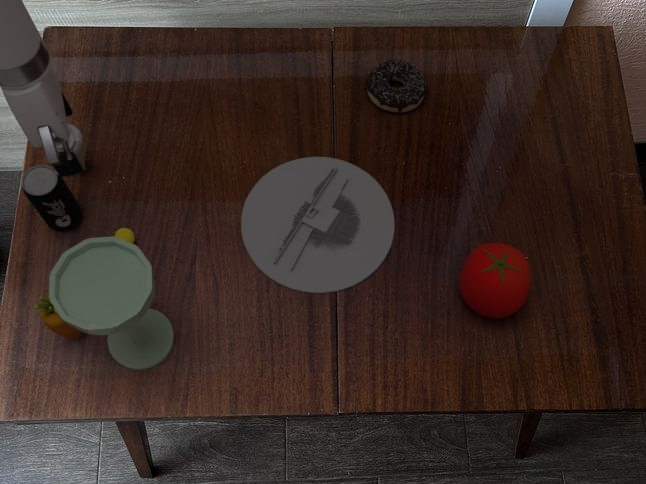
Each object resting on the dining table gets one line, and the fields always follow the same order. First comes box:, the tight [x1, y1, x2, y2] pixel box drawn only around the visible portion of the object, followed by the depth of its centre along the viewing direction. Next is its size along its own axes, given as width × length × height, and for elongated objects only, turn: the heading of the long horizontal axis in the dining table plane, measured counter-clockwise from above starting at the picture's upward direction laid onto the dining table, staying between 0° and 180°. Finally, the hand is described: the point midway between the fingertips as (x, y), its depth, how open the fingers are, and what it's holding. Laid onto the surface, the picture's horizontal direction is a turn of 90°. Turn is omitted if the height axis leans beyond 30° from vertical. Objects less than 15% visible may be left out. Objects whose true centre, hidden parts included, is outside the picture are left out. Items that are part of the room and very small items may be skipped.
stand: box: [107, 308, 175, 371], centre depth 108 cm, size 11×11×21 cm
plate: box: [240, 156, 396, 294], centre depth 126 cm, size 28×28×1 cm
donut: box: [364, 58, 428, 114], centre depth 135 cm, size 11×12×4 cm
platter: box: [48, 235, 157, 336], centre depth 97 cm, size 14×14×2 cm
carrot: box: [33, 295, 81, 339], centre depth 111 cm, size 5×5×15 cm
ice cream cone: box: [52, 123, 86, 172], centre depth 122 cm, size 5×5×15 cm
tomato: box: [459, 242, 532, 319], centre depth 117 cm, size 13×11×14 cm
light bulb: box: [114, 227, 136, 245], centre depth 122 cm, size 3×6×4 cm, turn 174°
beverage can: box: [21, 164, 83, 232], centre depth 120 cm, size 7×7×12 cm
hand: (66, 143), depth 97 cm, fingers open, 9 cm apart
